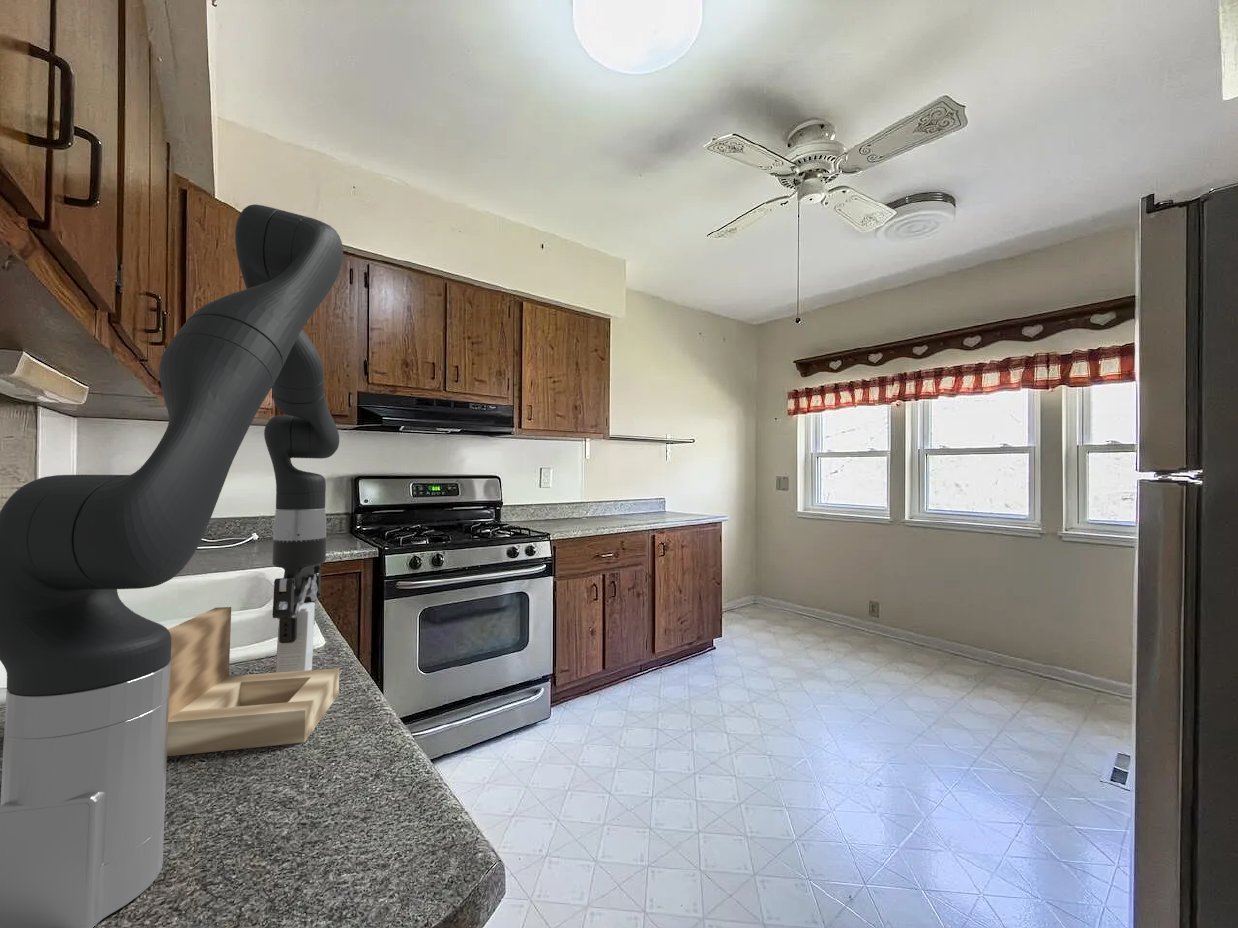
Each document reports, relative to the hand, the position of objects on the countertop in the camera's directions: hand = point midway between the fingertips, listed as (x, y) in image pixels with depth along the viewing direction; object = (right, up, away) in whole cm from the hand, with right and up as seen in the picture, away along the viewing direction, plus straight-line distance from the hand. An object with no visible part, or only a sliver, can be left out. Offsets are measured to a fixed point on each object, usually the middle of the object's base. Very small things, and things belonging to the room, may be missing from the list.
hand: (297, 634), depth 85 cm
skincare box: (0, -8, -1) cm, 8 cm away
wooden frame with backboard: (+4, -7, -15) cm, 17 cm away
